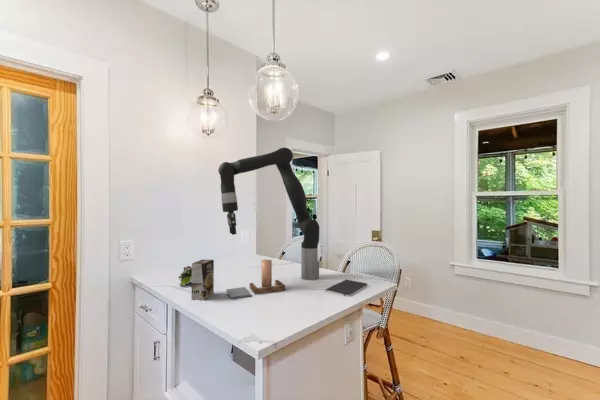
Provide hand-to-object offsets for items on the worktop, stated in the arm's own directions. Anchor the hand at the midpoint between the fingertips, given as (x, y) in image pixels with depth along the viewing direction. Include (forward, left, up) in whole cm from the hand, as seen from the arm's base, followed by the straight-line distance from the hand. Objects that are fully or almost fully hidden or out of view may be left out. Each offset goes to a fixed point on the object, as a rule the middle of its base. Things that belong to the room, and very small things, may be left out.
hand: (233, 233), depth 145 cm
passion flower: (+19, -14, -27) cm, 36 cm away
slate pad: (0, +12, -27) cm, 29 cm away
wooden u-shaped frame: (-15, +10, -27) cm, 32 cm away
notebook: (-52, +25, -28) cm, 64 cm away
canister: (-15, +10, -27) cm, 32 cm away
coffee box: (+15, +9, -27) cm, 32 cm away
